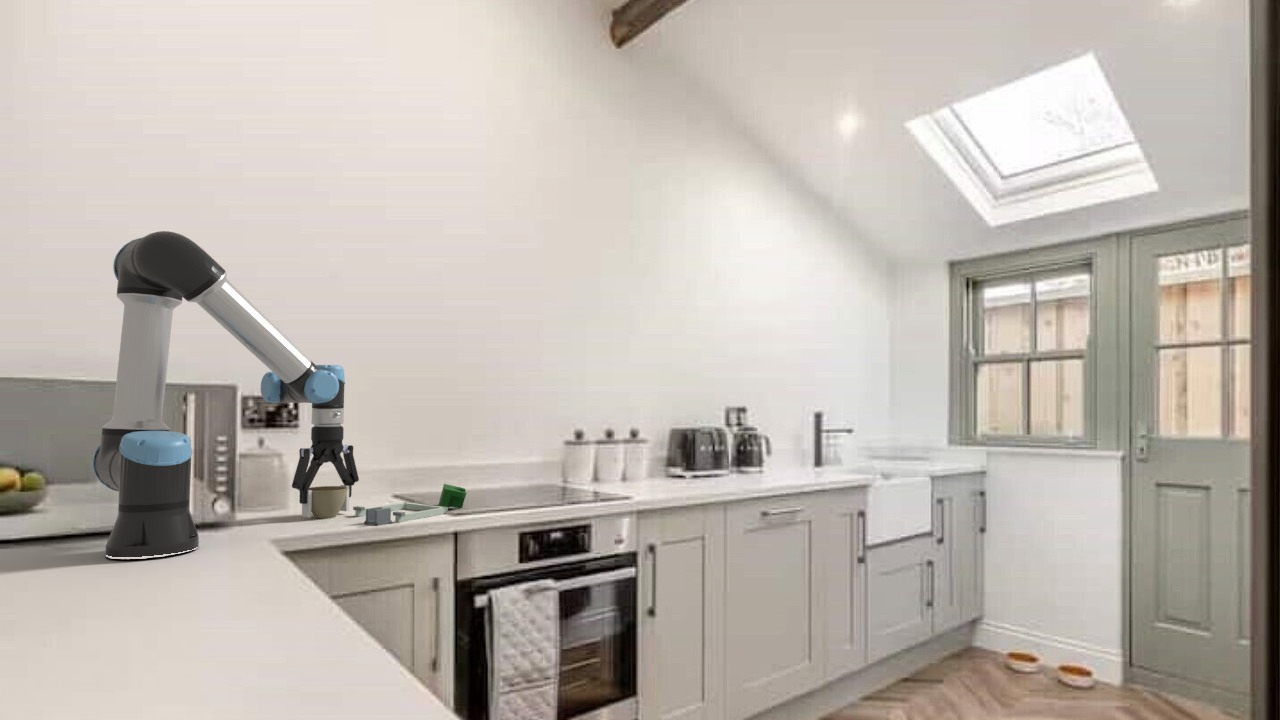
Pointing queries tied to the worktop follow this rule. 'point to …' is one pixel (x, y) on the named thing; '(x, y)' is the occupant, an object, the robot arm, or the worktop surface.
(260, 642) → the worktop surface
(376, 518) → the clip
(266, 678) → the worktop surface
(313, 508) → the flower pot
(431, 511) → the holder
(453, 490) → the clamp
